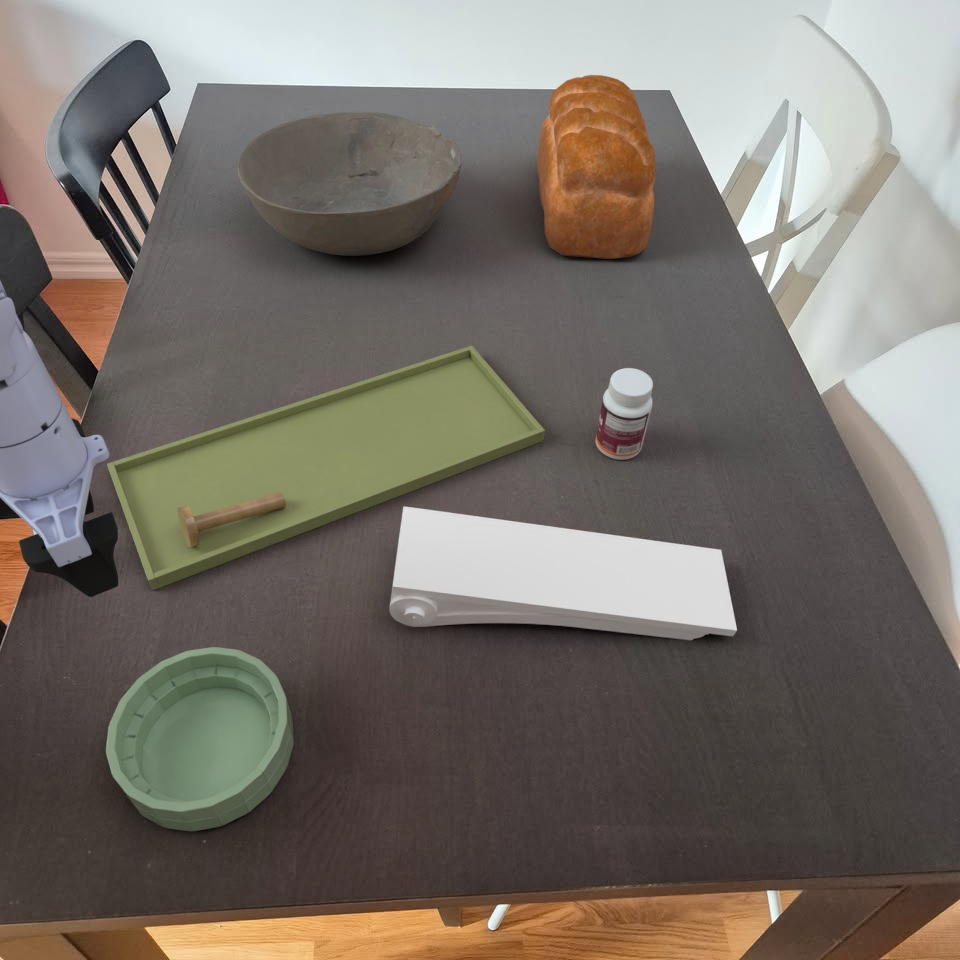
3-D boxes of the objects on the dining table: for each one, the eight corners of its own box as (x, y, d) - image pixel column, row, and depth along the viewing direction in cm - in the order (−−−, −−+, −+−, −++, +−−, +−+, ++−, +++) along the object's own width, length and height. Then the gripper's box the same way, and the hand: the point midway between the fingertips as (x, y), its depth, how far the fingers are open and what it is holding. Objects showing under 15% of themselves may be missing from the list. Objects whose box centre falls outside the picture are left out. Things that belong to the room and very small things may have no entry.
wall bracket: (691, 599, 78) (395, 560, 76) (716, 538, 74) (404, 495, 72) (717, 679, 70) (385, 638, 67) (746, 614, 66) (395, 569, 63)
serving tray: (152, 591, 70) (147, 580, 69) (111, 474, 79) (106, 463, 78) (544, 440, 84) (545, 430, 83) (471, 355, 93) (472, 345, 92)
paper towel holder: (188, 529, 70) (290, 500, 74) (175, 499, 72) (276, 472, 76) (191, 555, 72) (290, 526, 76) (179, 526, 74) (276, 499, 78)
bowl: (491, 260, 106) (495, 187, 99) (276, 303, 98) (263, 227, 91) (419, 162, 123) (417, 93, 116) (231, 192, 115) (216, 121, 108)
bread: (543, 261, 106) (556, 143, 95) (533, 162, 124) (542, 52, 113) (652, 263, 107) (677, 146, 95) (626, 164, 125) (644, 56, 113)
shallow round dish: (147, 866, 56) (130, 845, 53) (105, 716, 63) (89, 690, 60) (319, 781, 60) (312, 757, 57) (262, 650, 67) (253, 622, 64)
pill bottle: (604, 422, 86) (616, 359, 80) (648, 437, 85) (664, 374, 79) (587, 451, 83) (598, 387, 77) (632, 467, 82) (647, 404, 76)
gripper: (108, 467, 47) (173, 600, 57) (56, 328, 56) (122, 465, 66) (-25, 515, 45) (68, 644, 55) (-58, 362, 53) (28, 499, 63)
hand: (90, 549), depth 60 cm, fingers open, 7 cm apart
